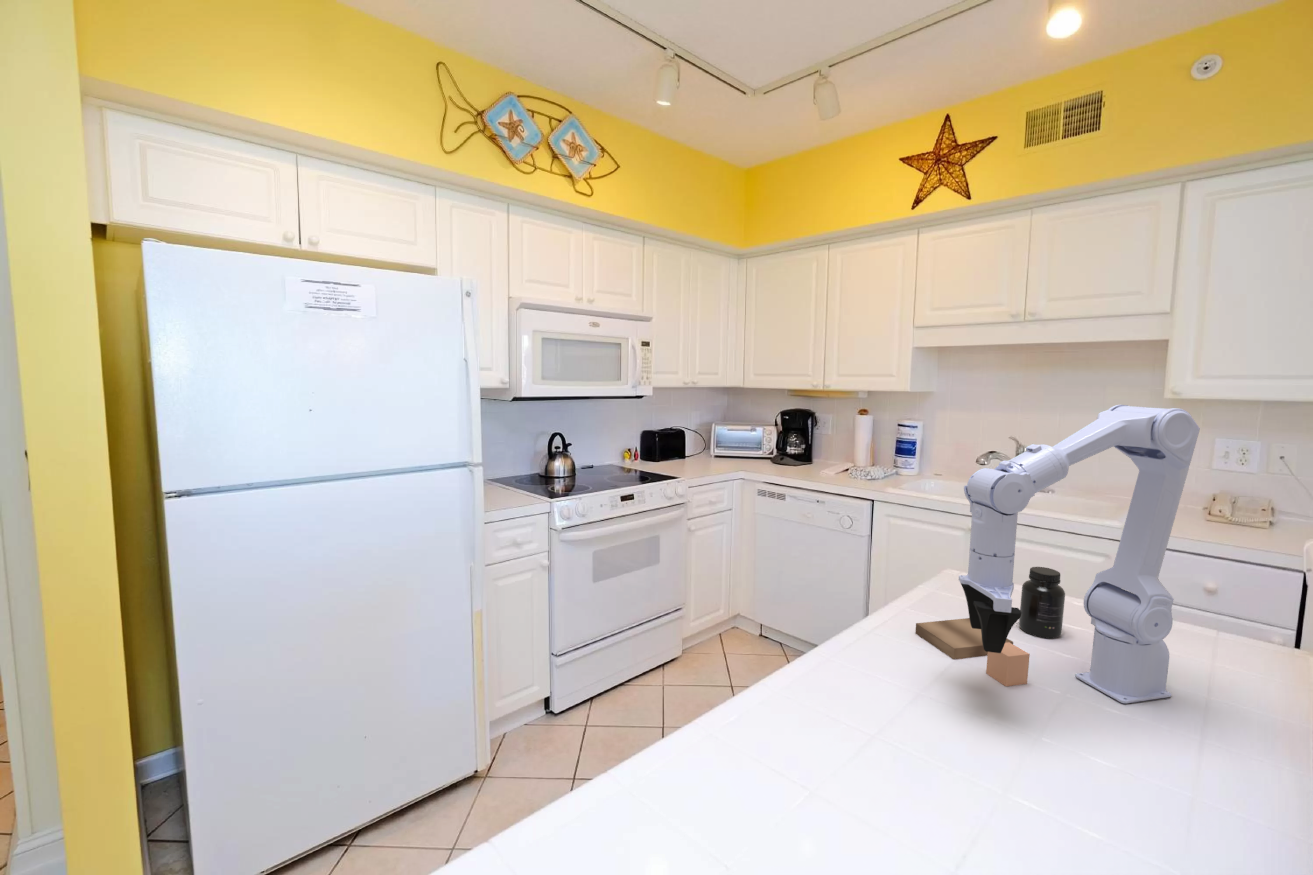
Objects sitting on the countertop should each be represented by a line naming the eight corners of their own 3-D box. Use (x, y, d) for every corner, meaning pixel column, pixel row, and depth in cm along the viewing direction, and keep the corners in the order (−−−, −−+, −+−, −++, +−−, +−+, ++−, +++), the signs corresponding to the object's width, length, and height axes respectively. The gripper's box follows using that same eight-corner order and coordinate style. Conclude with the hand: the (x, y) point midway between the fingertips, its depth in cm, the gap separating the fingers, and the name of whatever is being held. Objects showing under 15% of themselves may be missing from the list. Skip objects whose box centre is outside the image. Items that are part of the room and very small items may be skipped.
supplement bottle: (1011, 622, 113) (1016, 563, 112) (1049, 624, 113) (1054, 565, 111) (1029, 638, 107) (1034, 575, 105) (1069, 640, 106) (1075, 578, 104)
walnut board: (969, 630, 111) (970, 617, 111) (1012, 655, 101) (1013, 641, 101) (915, 635, 108) (916, 623, 108) (953, 662, 99) (954, 648, 98)
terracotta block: (1006, 670, 95) (1009, 642, 94) (1026, 683, 91) (1029, 653, 91) (986, 673, 94) (988, 644, 94) (1005, 686, 90) (1008, 656, 90)
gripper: (951, 535, 92) (946, 615, 94) (973, 564, 78) (966, 658, 80) (1001, 538, 90) (994, 621, 92) (1032, 569, 76) (1024, 665, 78)
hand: (985, 639), depth 86 cm, fingers open, 7 cm apart
